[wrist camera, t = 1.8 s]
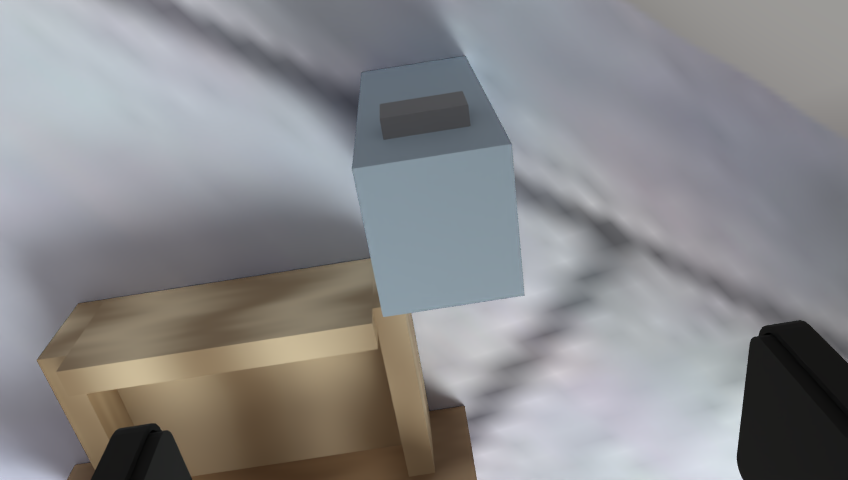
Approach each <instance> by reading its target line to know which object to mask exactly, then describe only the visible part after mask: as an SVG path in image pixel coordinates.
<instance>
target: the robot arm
mask: <svg viewBox="0 0 848 480" xmlns="http://www.w3.org/2000/svg"><path fill="white" fill-rule="evenodd" d="M737 464H738V468H739V472H740V474H741V477H742V478H743V480H848V363H847V362H846V361H845V360H844V359H843V358H842V357H841V356H840V355H839V354H838V353H837V352H836V351H835V350H834V349H833V348H832V347H831V346H830V345H829V344H828V343H827V342H826V341H825V340H824V339H823V338H822V337H821V336H820V335H819V334H818V333H817V332H816V331H815V330H814V329H813V328H812V327H811V326H810V325H809V324H807V323H806V322H805V321H801V320H798V321H792V322H786V323H780V324H773V325H767V326H764V327H762V329H761V330H760V333H759V336H757V337H753V338H752V339H751V342H750V347H749V355H748V364H747V373H746V381H745V390H744V399H743V407H742V416H741V424H740V433H739V442H738V450H737ZM91 480H192V478H191V475H190V473H189V471H188V469H187V466H186V464H185V462H184V460H183V457H182V455H181V453H180V451H179V448H178V446H177V444H176V442H175V439H174V437H173V435H172V433H171V432H170V431H169V430H164V431H162V430H161V429H160V427H159V426H158V425H157V424H156V423H149V424H143V425H137V426H130V427H124V428H119V429H117V430H116V431H115V432H114V433H113V435H112V436H111V438H110V440H109V442H108V444H107V447H106V449H105V451H104V453H103V455H102V457H101V459H100V461H99V463H98V465H97V468H96V470H95V472H94V474H93V476H92V478H91Z"/></svg>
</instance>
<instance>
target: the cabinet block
mask: <svg viewBox="0 0 848 480" xmlns="http://www.w3.org/2000/svg"><path fill="white" fill-rule="evenodd" d="M352 171H353V176H354V181H355V186H356V191H357V195H358V200H359V205H360V210H361V214H362V219H363V224H364V229H365V234H366V238H367V243H368V248H369V253H370V257H371V262H372V267H373V272H374V277H375V281H376V286H377V291H378V296H379V301H380V305H381V310H382V315H383V317H388V316H394V315H401V314H407V313H414V312H420V311H427V310H433V309H440V308H446V307H453V306H459V305H466V304H472V303H479V302H485V301H492V300H498V299H505V298H511V297H518V296H524V284H523V272H522V260H521V248H520V237H519V225H518V213H517V201H516V189H515V177H514V166H513V154H512V144H511V142H510V140H509V138H508V136H507V134H506V132H505V130H504V128H503V126H502V125H501V123H500V121H499V119H498V117H497V115H496V113H495V111H494V109H493V108H492V106H491V104H490V102H489V100H488V98H487V96H486V94H485V92H484V90H483V89H482V87H481V85H480V83H479V81H478V79H477V77H476V75H475V73H474V71H473V70H472V68H471V66H470V64H469V62H468V60H467V58H466V56H461V57H454V58H448V59H442V60H435V61H429V62H423V63H416V64H410V65H404V66H398V67H391V68H385V69H379V70H372V71H366V72H362V74H361V84H360V94H359V104H358V114H357V124H356V134H355V144H354V154H353V164H352Z"/></svg>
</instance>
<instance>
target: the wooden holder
mask: <svg viewBox="0 0 848 480" xmlns="http://www.w3.org/2000/svg"><path fill="white" fill-rule="evenodd" d="M37 362H38V364H39V366H40V367H41V369H42V371H43V373H44V375H45V377H46V379H47V381H48V383H49V384H50V386H51V388H52V390H53V392H54V394H55V396H56V398H57V400H58V401H59V403H60V405H61V407H62V409H63V411H64V413H65V415H66V417H67V418H68V420H69V422H70V424H71V426H72V428H73V430H74V432H75V434H76V435H77V437H78V439H79V441H80V443H81V445H82V447H83V449H84V451H85V452H86V454H87V456H88V458H89V460H90V462H91V463H84V464H77V465H75V466H74V468H73V470H72V471H71V473H70V475H69V477H68V479H67V480H91V478H92V476H93V474H94V472H95V470H96V468H97V465H98V463H99V461H100V459H101V457H102V455H103V453H104V451H105V449H106V447H107V444H108V442H109V440H110V438H111V436H112V435H113V433H114V432H115V431H116V430H117V429H119V428H124V427H130V426H137V425H143V424H149V423H156V424H157V425H158V426H159V427H160V429H161V430H162V431H164V430H169V431H170V432H171V433H172V435H173V437H174V439H175V442H176V444H177V446H178V448H179V451H180V453H181V455H182V457H183V460H184V462H185V464H186V466H187V469H188V471H189V473H190V475H191V478H192V480H477V477H476V471H475V465H474V459H473V453H472V447H471V441H470V435H469V429H468V423H467V417H466V411H465V406H460V407H453V408H447V409H440V410H434V411H429V407H428V402H427V396H426V391H425V385H424V380H423V374H422V369H421V363H420V358H419V353H418V347H417V342H416V336H415V331H414V325H413V320H412V315H411V313H407V314H401V315H394V316H388V317H383V315H382V310H381V305H380V301H379V296H378V291H377V286H376V281H375V277H374V272H373V267H372V262H371V258H369V259H362V260H356V261H350V262H343V263H337V264H330V265H324V266H317V267H311V268H304V269H298V270H292V271H285V272H279V273H272V274H266V275H259V276H253V277H246V278H240V279H233V280H227V281H221V282H214V283H208V284H201V285H195V286H188V287H182V288H175V289H169V290H162V291H156V292H150V293H143V294H137V295H130V296H124V297H117V298H111V299H104V300H98V301H91V302H85V303H79V304H78V305H77V306H76V307H75V309H74V310H73V311H72V313H71V314H70V315H69V317H68V318H67V320H66V321H65V322H64V324H63V325H62V326H61V328H60V329H59V330H58V332H57V333H56V335H55V336H54V337H53V339H52V340H51V341H50V343H49V344H48V345H47V347H46V348H45V349H44V351H43V352H42V354H41V355H40V356H39V358H38V359H37Z"/></svg>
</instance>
